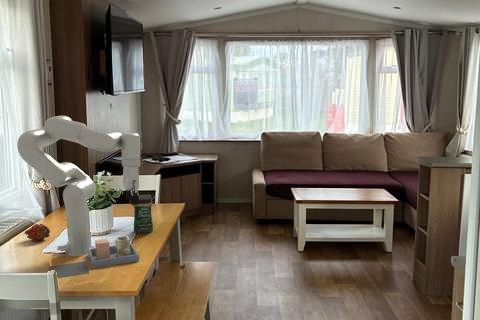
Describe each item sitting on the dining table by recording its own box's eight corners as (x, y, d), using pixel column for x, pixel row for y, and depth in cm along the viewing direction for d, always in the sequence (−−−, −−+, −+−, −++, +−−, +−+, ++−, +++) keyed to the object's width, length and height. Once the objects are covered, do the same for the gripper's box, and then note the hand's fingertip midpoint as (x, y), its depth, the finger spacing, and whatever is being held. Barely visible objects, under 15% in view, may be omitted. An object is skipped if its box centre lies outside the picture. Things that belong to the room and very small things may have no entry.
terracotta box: (97, 262, 201) (96, 243, 199) (96, 258, 205) (95, 240, 204) (110, 260, 202) (109, 242, 201) (108, 256, 207) (107, 238, 206)
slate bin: (92, 269, 195) (92, 261, 194) (88, 256, 209) (88, 249, 208) (139, 262, 202) (138, 254, 201) (132, 250, 216) (131, 243, 216)
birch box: (118, 259, 204) (117, 240, 202) (116, 255, 208) (115, 237, 207) (130, 257, 206) (129, 239, 204) (128, 253, 210) (127, 235, 209)
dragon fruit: (52, 243, 231) (27, 247, 232) (55, 229, 237) (31, 232, 238) (44, 233, 225) (19, 237, 225) (48, 218, 231) (23, 222, 231)
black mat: (51, 281, 184) (51, 279, 184) (50, 268, 197) (49, 266, 197) (89, 275, 190) (89, 273, 189) (86, 262, 202) (85, 261, 202)
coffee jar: (134, 234, 239) (132, 197, 236) (133, 229, 247) (131, 193, 244) (154, 232, 242) (152, 196, 238) (152, 228, 249) (151, 192, 246)
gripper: (117, 159, 211) (119, 198, 214) (126, 166, 196) (127, 207, 199) (135, 158, 214) (135, 196, 217) (145, 165, 199) (146, 205, 202)
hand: (132, 201), depth 208 cm, fingers open, 9 cm apart
